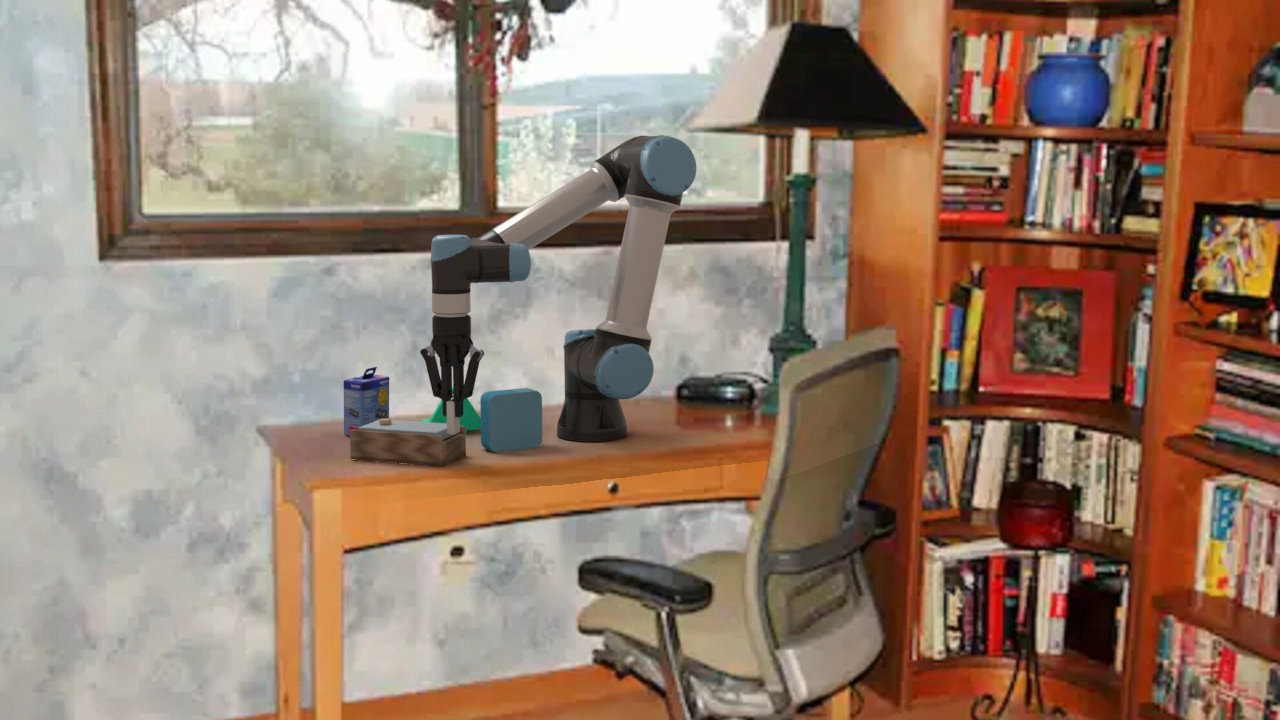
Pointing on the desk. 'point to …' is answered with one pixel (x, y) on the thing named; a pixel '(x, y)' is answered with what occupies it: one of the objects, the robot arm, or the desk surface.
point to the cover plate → (408, 427)
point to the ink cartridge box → (365, 400)
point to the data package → (511, 419)
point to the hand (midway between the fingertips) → (453, 432)
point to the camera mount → (467, 420)
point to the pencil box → (407, 447)
